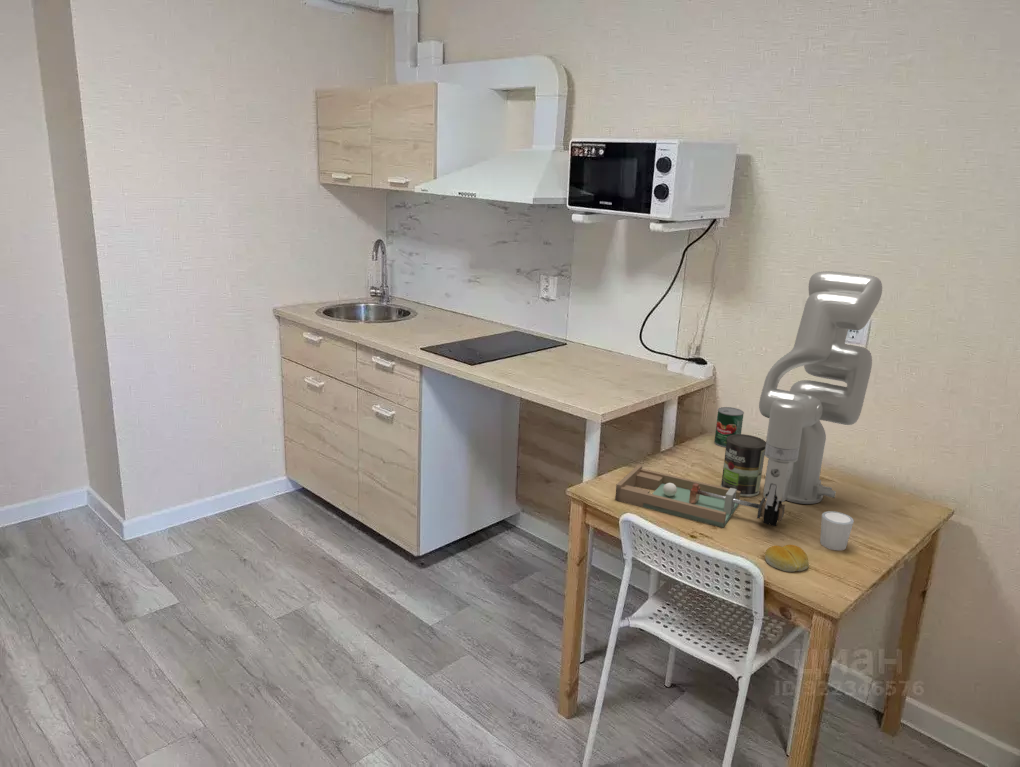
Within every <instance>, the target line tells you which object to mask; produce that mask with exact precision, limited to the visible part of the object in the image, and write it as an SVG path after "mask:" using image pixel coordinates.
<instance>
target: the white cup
mask: <svg viewBox="0 0 1020 767" xmlns="http://www.w3.org/2000/svg"><path fill="white" fill-rule="evenodd" d="M854 522H855V521H854V518H853V517H852V516H850V515H848V514H845V513H843V512H840V511H835V510H830V511H829V510H828V511H825V512H822V514H821V523H820V539H819V541H820V542H819V543H820V544H821V545H822V547H824V548H826V549H829V550H831V551H844V550H846V549H847V545H848V543H849V542H848V541H849V538H850V535H851V531H852V528H853V525H854Z"/></svg>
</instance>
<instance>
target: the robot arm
mask: <svg viewBox="0 0 1020 767" xmlns="http://www.w3.org/2000/svg"><path fill="white" fill-rule="evenodd" d="M882 294H883V283H882V281H881V279H880V278H878V277H877V276H875V275H871V274H870V275H867V274H860V273H849V272H843V271H842V272H841V271H833V270H832V271H827V270H825V271H824V270H823V271H817V272H815V273H813V274H812V275H811V276H810V278H809V280H808V297H807V299H806V301H805V304H804V308H803V311H802V315H801V319H800V322H799V327H798V329H797V333H796V337H795V340H794V345H793V348H792V349H791V350H790V351H788V352H787V353H786V354H784V355H783V356H781V358H779V359H778V360H777V361H776V362H775V363H774V364H773V365H772V366H771V368H770V369H769V371H768V372H767V374H766V376H765V379H764V383H763V386H762V390H761V394H760V397H759V403H758V409H759V413H760V414H761V415H762V416H763V417H764V418H767V419H768V425H767V434H766V440H765V442H766V446H765V453H764V457H766V458H767V466H766V472H765V477H764V484H763V486H764V487H763V493H762V496H763V498H766V499H765V500H766V507H765V511H764V517H762V518H763V519H762V523H763V524H765V525H768V526H773V527H777V526H778V522H779V521H778V514H779V511H778V506H779V504H783V502H785V501H788V502H791V503H795V504H800V505H801V504H803V505H814V504H817V503H818V504H819V503H820V502H821V501H823V497H828V498H832V499H835V498H836V492H837V491H836V490H833V487H831V486H825V485H823V484H822V479H820V476H821V470H822V464H823V459H824V457H823V456H824V452H825V446H826V440H827V434H826V430H825V428H824V426H823V423H822V422H821V421H824V422H828V423H832V424H838V425H839V424H840V425H843V426H852V425H854V424H856V423H857V422H858V420H859V418H860V417H861V413H862V409H863V405H864V401H865V397H866V393H867V389H868V385H869V380H870V376H871V372H872V366H873V356H872V353H871V352H870V350H869V349H867V348H866V347H863V346H860V345H853V344H852V345H851V344H846V340H847V339H846V338H847V335H848V331H849V330H851V331H860V330H862V329H864V328H865V327H866V325H867V324H868V323H869V320H870V319H871V317H872V315H873V313H874V311H875V310H876V308H877V306H878V304H879V302H880V301H881V298H882ZM801 367H804V371H805V372H806V373H807V374H808V375H810V376H813V377H817V378H821V379H827V380H832V381H839V382H844V383H845V384H846V386H844V385H837V384H833V383H832V384H831V383H829V382H828V383H827V382H823V381H822V382H821V381H816V380H809V379H805V380H804V379H803V380H798V381H796V382H794V383H793V384H792V386H791V387H790V389H789V390H785V389H780V388H779V389H778V386H779V384H780V381H781V380H782V378H783V377H784V376H785V375H786V374H787V373H789V372H790V371H793V370H795V369H798V368H801ZM774 502H775V503H776V504H775V503H774Z"/></svg>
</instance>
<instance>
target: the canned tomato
mask: <svg viewBox="0 0 1020 767" xmlns="http://www.w3.org/2000/svg"><path fill="white" fill-rule="evenodd" d="M744 414H745V412H744V411H743V410H742V409H739V408H737V407H730V406H724V407H722V406H720V407H719V408H718V409H717V415H716V416H717V417H716V426H715V434H714V444H715V445H717V446H719V447H723V448H726V444H727V441H726V439H727V437H728V436H730V435H734V434H742V431H743V423H744V422H743V421H744Z"/></svg>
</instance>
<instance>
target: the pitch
mask: <svg viewBox="0 0 1020 767" xmlns="http://www.w3.org/2000/svg"><path fill="white" fill-rule="evenodd" d="M667 483H673V484H674V485H675V486H676V488H677V492H676V494H675V495H674V496H667V495H665V494H664V492H663V487H664V485H665V484H667ZM694 483H697V484H699V487H700V490H701V491H705V492H709V493H713V494H718V495H722V496H725V501H724V500H720V499H715V498H711V497H707V496H703V495H700V496H699V500H698V501H697V502H696V504H693V503H689V498H690V490H691V489H692V487H693V484H694ZM643 488H644V489H643ZM650 490H651V491H652V490H653V492H652V493H650ZM740 493H741V491H737V489H734V488H730V489H729V488H724V487H721V485H715V484H710V483H707V482H704V481H703V482H702V481H698V480H694V479H690V478H685V477H680V476H677V475H672V474H667V473H663V472H659V471H654V470H650V469H645V468H643V465H641V464H637V465H636V466H635V467H634V468H633V469H632V470H631V471H629V472H628V473H627V474H626V475H625V476H624V477H623V478H622V479H621V480H620V481H618V482H617V483H616V485H615V496H614V497H615V499H614V501H617V502H621V503H625V504H628V505H632V506H633V505H634V506H636V507H641V508H644V509H648V510H652V511H657V512H660V513H663V514H664V513H665V514H668V515H670V516H671V515H673V516H676V517H680V518H684V519H687V520H691V521H695V522H699V523H703V524H707V525H711V526H715V527H719V528H721V529H722V528H723V529H724V528H725V526H726V525H727V523H728V521H729V520H730V519H731V517H732V515H733V514H734V513H735V511H736V509H737V508H738V506H739V505H740V504H736V503H732V502H733V498H734V499H739V500H741V499H740V498H741V496H740Z"/></svg>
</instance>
